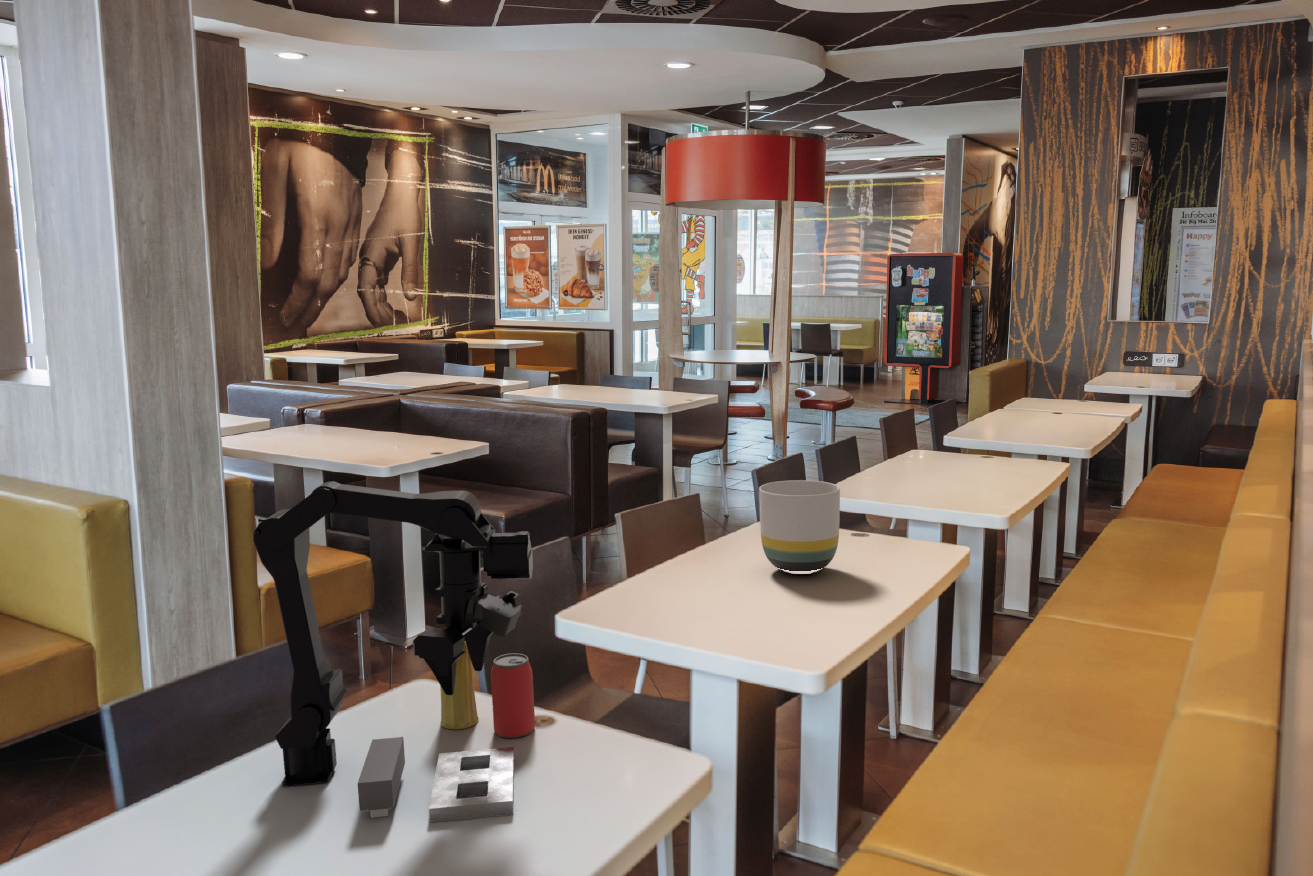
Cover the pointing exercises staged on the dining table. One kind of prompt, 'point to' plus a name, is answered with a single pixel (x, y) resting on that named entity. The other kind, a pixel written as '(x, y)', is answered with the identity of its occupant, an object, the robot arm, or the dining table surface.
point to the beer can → (512, 695)
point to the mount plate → (473, 785)
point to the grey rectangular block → (381, 776)
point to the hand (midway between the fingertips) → (464, 682)
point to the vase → (460, 697)
